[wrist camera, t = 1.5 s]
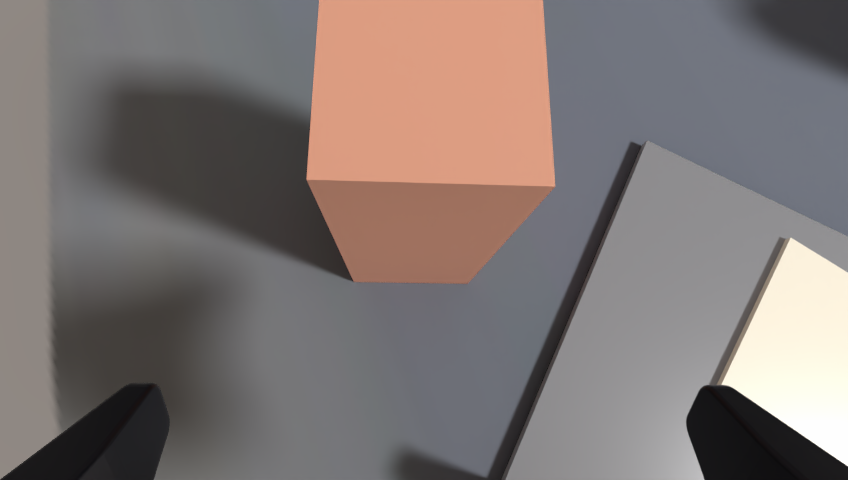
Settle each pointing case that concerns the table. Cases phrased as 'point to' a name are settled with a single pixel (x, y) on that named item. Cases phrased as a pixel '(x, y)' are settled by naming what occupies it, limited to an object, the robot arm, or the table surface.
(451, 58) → the terracotta block
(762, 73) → the table surface
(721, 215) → the two-wall tray
